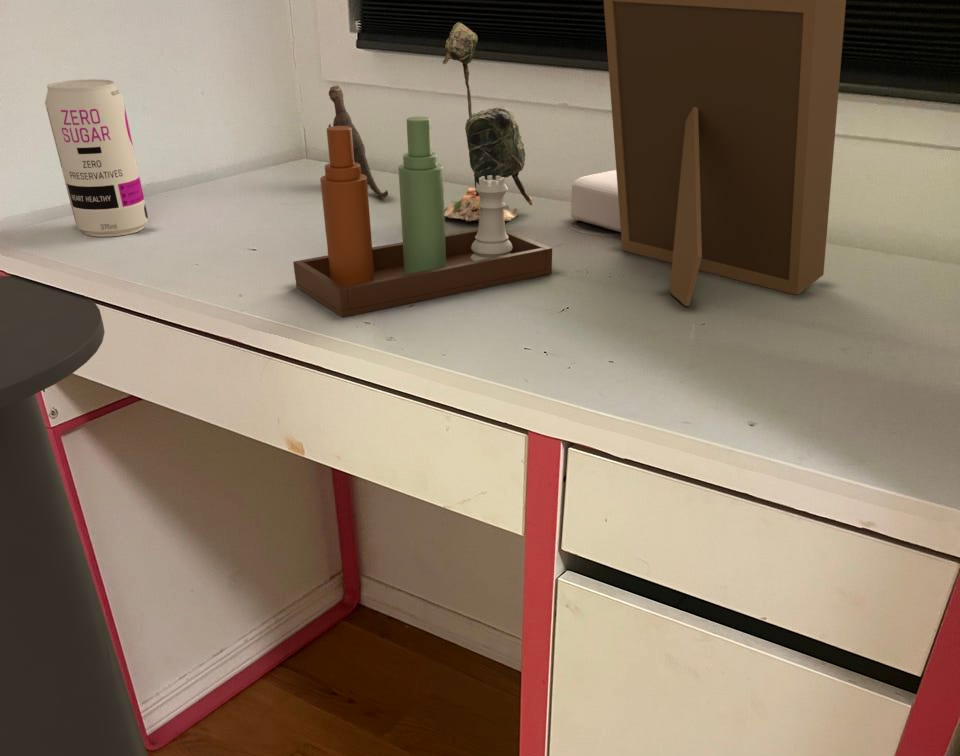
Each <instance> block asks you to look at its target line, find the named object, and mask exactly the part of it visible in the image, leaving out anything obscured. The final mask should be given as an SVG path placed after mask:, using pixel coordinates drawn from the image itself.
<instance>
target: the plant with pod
mask: <svg viewBox="0 0 960 756" xmlns="http://www.w3.org/2000/svg"><path fill="white" fill-rule="evenodd" d="M478 40H479V38H478V35H477V34H476V32H473V30H471V29H470V28H469V27H467V26H466V25H465V24H463V23H462V22H456V23H455V24H454V25H453V26H452V29H451V31H450V32H449V37H448V38H447V39H446V41H445V44H444V47H445V48H444V50H445V51H446V55H445V57H444V60H443V61H442V64H443V65H447V63H448V62H449V61H450V60H452V61H456V62H457V61H458V62H460V63H462V69H463V76H464V83H465V87H466V92H467V93H466V94H467V110H468V111H467V112H468V119H466V121H465V127H464V131H465V135H466V142H467V143H466V144H467V148H468V157H469V158H468V159H469V166H470V169H471V170H472V172H473V178H474V188H471V187H468V188H467V190H466V194H464V195H462V197H461V199H460V200H458V201H450V202H451V204H449V205H448V207H445V208H444V216H445V218H449V219H460V220H465V222H471V221H474V222H475V221H477V222H479V219H480V208H479V206H478V204H479V202H480V195H479V194H478V192H477V191H476V189H475V188H476V187H477V185H478V184H479V178H480V177H482V176H484V177H485V180H487V176H489V175H492V180H496V176H501V177H504V179H507V178H509V177H511V178H512V179H513V182H514V184H515V185H516V187H517V189H518V190H519V192H520V194H521V195H522V197H523V198H524V199H525V201H526V202H527V203H528V205H530V206H533V204H534V202H533V198H531V196H530V195H529V194H528V193H527V192H526V190H525V187H524V185H523V183H522V181H521V180H520V177H519V174H520V172H522V171H523V169H524V167H525V162H526V150H525V143H524V142H523V141H522V136H521V133H520V128H519V127H520V126H519V124H518V122H517V119H516V117H515V116H514V113H513V112H512V111H511V110H510V109H509V108H507V107H505V106H497V107H492V108H488V109H485V110H484V109H483V110H480V111H478V112H477V113H473V112H472V96H471V90H470V84H469V81H470V70H469V65H468V64H470V63H472V60H473V57H474V54H475V51H476V47H477V44H478V42H479V41H478ZM518 215H519V212H518V209H517V208H511V207H510V206H509V205H506V206H505V207H504V222H506V223H508V222H509V221H512V219H513V220H514V218H516V217H517V216H518Z"/></svg>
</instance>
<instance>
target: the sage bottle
mask: <svg viewBox="0 0 960 756" xmlns="http://www.w3.org/2000/svg"><path fill="white" fill-rule="evenodd" d="M405 121H406V135H407V136H406V137H407V139H406V140H407V152H406V153H403V155H402V161H403V162H402V164H400V165H398V168H397V169H398V185H399V186H398V187H399V203H400V218H401V219H400V220H401V221H400V222H401V234H402V235H401V237H402V242H403V257H404V274H410V273H415V272H420V271H425V270H430V269H436V268H441V267H446V247H445V234H446V220H445V219H446V216H444V210H445V190H444V189H445V187H444V185H445V184H444V166H443V164H441V163H439V162H438V154H437V153H436V152H434V151H432V150H433V148H432V125H431V124H432V123H431V117H428V116H411V117H408V118H406V120H405Z"/></svg>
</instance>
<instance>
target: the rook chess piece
mask: <svg viewBox="0 0 960 756" xmlns="http://www.w3.org/2000/svg"><path fill="white" fill-rule="evenodd" d="M474 189H476V191H477V192H478V194H479V195H480V202H479V204H478V206H479V208H480V219H479V221H478V228H477V229H478V232H477V235H476V236H475V238H476V240H475V241H474V242H473V243H472V246H471V249H472V251H473V252H474V254H473V255H472V256H471V259H472V261H477V260H482V259H487V258H492V257H497V256H502V255H507V254H511V253H510V251H511V250H512V249H513V247H512V244H511V242H510V241H509V240H508V238H509V237H508V235H507V234H506V230H507V229H506V224H505V222H506V221H504V207H505V206H506V203H505V201H504V197H505V195H506V193H507V191H508V190H509V188H508V187H507V185H506V183H505V178H504V177H501V176H496V180H492V175H489V176H487V180H485V177H484V176H482V177H480V178H479V184H476V188H475V187H474ZM505 229H506V230H505Z"/></svg>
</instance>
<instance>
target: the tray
mask: <svg viewBox="0 0 960 756" xmlns="http://www.w3.org/2000/svg"><path fill="white" fill-rule="evenodd" d="M505 230H506V234H507V235H508V237H509V238H508V240H509V241H510V242H511V244H512V247H513V249H512V250H511V251H510V253H511V254H507V255H502V256H497V257H492V258H487V259H482V260H477V261H472V259H471V256H472V255H473V254H474V252H473V251H472V249H471V246H472V243H473V242H474V241H475V240H476V238H475V236H476V235H477V232H478V228H473V229H468V230H463V231H462V230H461V231H457V232H451V233H445V247H446V267H441V268H436V269H430V270H425V271H420V272H415V273H410V274H404V257H403V241H401V242H400V241H399V242H395V243H389V244H384V245H383V244H382V245H378V246H372V252H373V265H374V278H375V280H374V281H369V282H364V283H358V284H353V285H348V286H342V285H340V284H339V283H337V282H335V281H334V280H332V279H331V277H330V268H329V258H328V254H327V255H322V256H316V257H310V258H305V259H301V260H295V261H293V262H292V263H293V271H294V279H295V288H297V289H299V291H301V292H303V293H304V294H306V295H308V297H311V298H312V299H314V300H315V301H317V302H318V303H320V304H322V305H323V306H324V307H326V308H327V309H329V310H331V311H332V312H334V313H335V314H336V315H338V316H340V317H342V318H345V317H350V316H355V315H360V314H364V313H370V312H374V311H379V310H384V309H388V308H393V307H397V306H403V305H407V304H412V303H417V302H422V301H427V300H431V299H436V298H441V297H446V296H450V295H456V294H460V293H465V292H470V291H474V290H480V289H484V288H489V287H493V286H494V287H495V286H499V285H503V284H508V283H513V282H518V281H523V280H527V279H531V278H538V277H541V276H546V275H550V274H552V270H553V247H550V246H548V245H545V244H543V243H540V242H538V241H535V240H533V239H530V238H528V237H525V236H523V235H520V234H518V233H515V232H513V231H511V230H509V229H506V228H505Z"/></svg>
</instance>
